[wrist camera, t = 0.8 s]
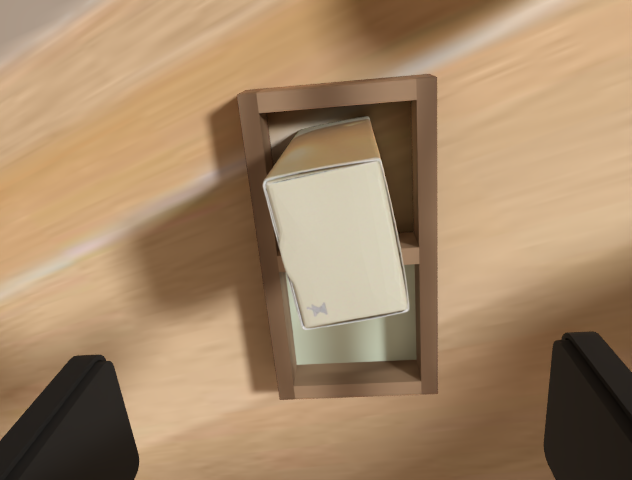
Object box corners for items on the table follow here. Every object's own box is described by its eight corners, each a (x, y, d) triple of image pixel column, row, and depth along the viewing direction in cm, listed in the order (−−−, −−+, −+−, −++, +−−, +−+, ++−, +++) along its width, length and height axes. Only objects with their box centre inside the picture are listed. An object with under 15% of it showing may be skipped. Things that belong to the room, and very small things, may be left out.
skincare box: (389, 215, 30) (415, 321, 19) (318, 229, 31) (302, 340, 19) (368, 108, 28) (384, 154, 17) (293, 125, 29) (258, 181, 17)
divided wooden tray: (428, 73, 27) (437, 77, 25) (431, 369, 34) (437, 394, 32) (245, 90, 28) (236, 94, 26) (284, 375, 35) (279, 399, 33)
